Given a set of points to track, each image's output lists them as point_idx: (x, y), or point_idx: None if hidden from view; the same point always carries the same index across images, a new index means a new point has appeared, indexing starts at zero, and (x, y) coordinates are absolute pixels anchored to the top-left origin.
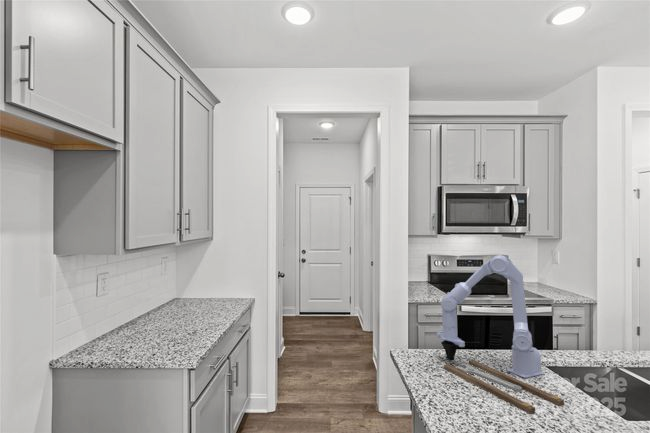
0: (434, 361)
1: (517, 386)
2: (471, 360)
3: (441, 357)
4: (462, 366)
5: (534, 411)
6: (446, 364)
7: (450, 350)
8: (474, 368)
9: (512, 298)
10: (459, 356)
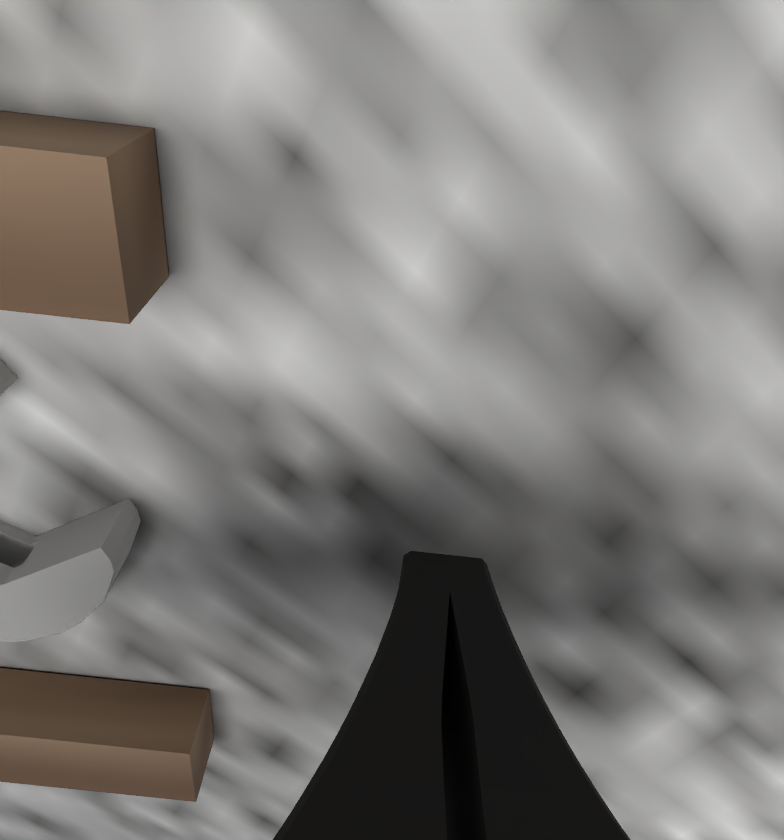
0: (722, 311)
1: None
2: (164, 773)
3: (751, 596)
4: (69, 540)
5: None
6: (98, 248)
7: (304, 810)
8: None
9: None
10: None
